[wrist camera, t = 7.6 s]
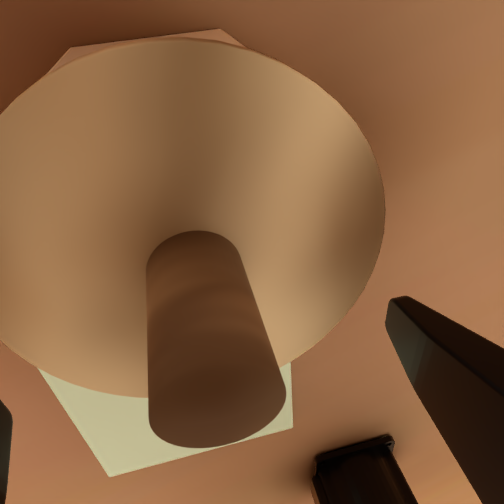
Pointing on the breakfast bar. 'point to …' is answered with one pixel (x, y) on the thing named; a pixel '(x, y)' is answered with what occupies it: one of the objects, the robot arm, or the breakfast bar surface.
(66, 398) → the mat
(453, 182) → the breakfast bar surface
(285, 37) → the breakfast bar surface
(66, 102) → the lid
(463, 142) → the breakfast bar surface
